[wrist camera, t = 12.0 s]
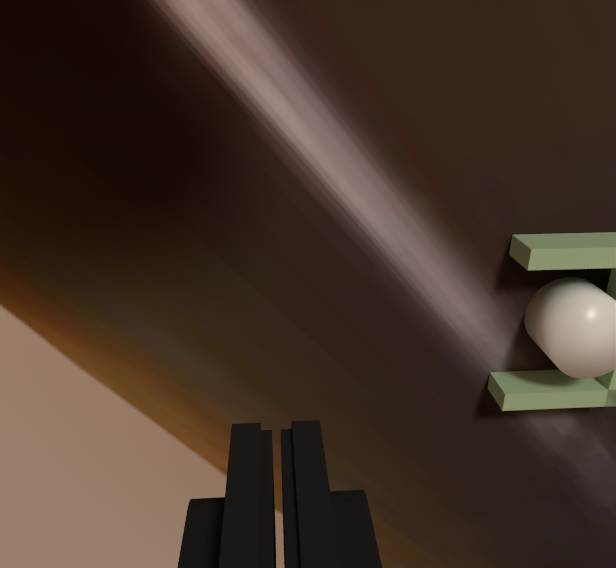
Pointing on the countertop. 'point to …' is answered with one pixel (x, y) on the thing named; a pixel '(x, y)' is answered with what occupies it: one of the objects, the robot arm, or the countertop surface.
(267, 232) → the countertop surface
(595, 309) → the white domed cylinder
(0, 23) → the countertop surface
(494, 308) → the countertop surface
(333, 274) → the countertop surface
